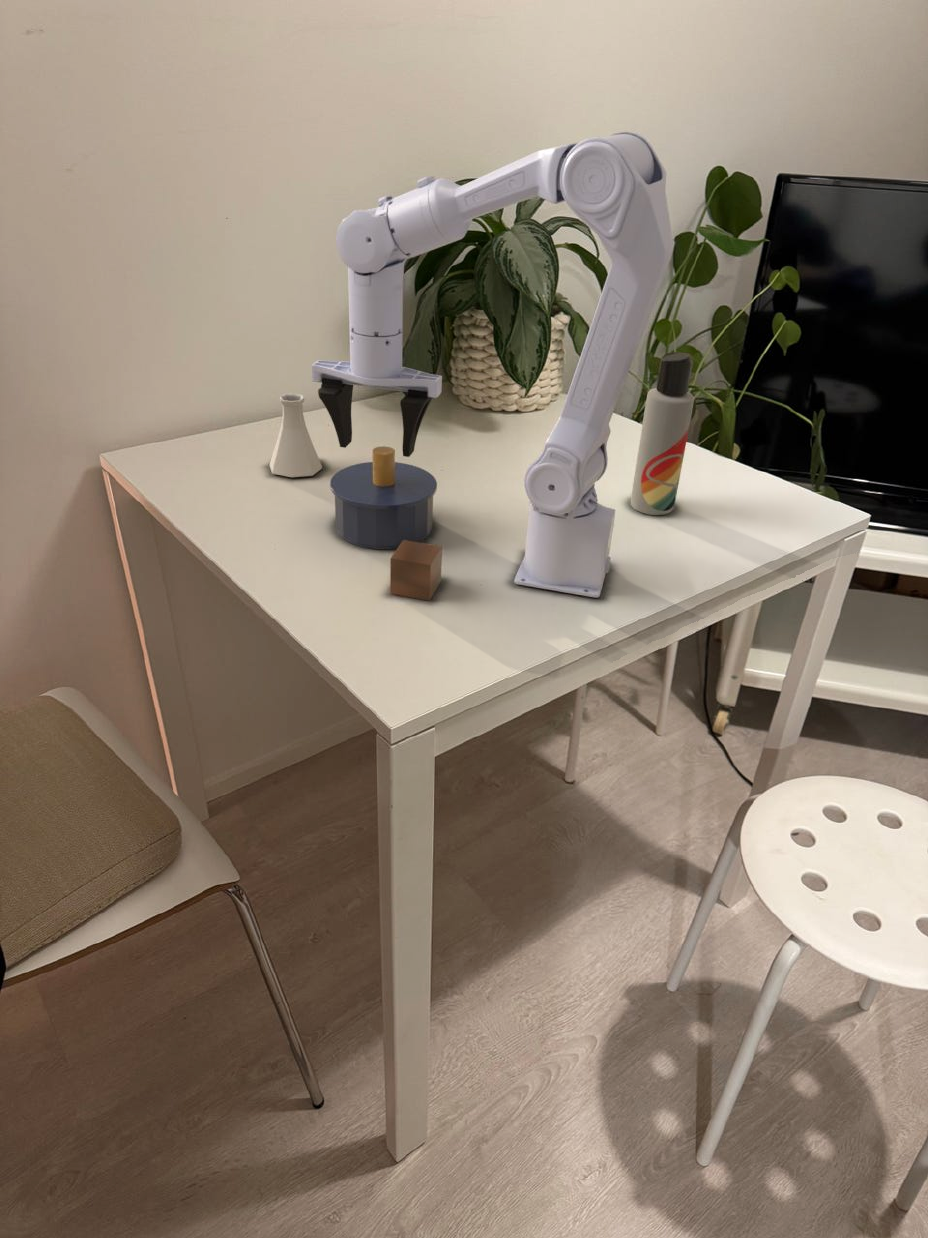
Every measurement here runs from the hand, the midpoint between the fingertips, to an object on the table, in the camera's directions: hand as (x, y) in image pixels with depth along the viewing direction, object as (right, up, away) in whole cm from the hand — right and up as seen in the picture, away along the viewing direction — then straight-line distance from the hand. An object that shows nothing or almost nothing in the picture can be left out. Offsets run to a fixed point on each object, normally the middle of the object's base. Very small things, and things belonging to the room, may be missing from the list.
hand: (376, 448), depth 105 cm
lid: (+1, -4, +3) cm, 5 cm away
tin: (0, -8, +6) cm, 10 cm away
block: (+5, -16, -6) cm, 18 cm away
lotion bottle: (+35, -5, +14) cm, 38 cm away
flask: (-13, +1, +19) cm, 23 cm away
